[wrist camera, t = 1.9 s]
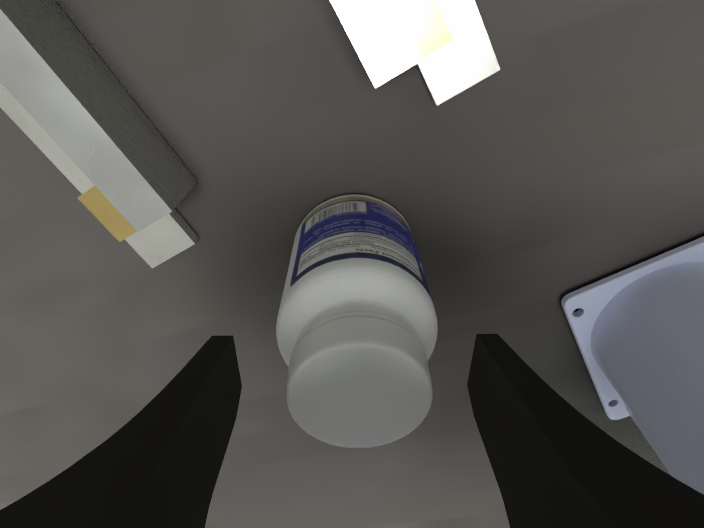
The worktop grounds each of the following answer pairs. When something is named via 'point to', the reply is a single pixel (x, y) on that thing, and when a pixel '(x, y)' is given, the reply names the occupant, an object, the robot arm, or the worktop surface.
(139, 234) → the socket
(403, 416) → the pill bottle
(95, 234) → the worktop surface
